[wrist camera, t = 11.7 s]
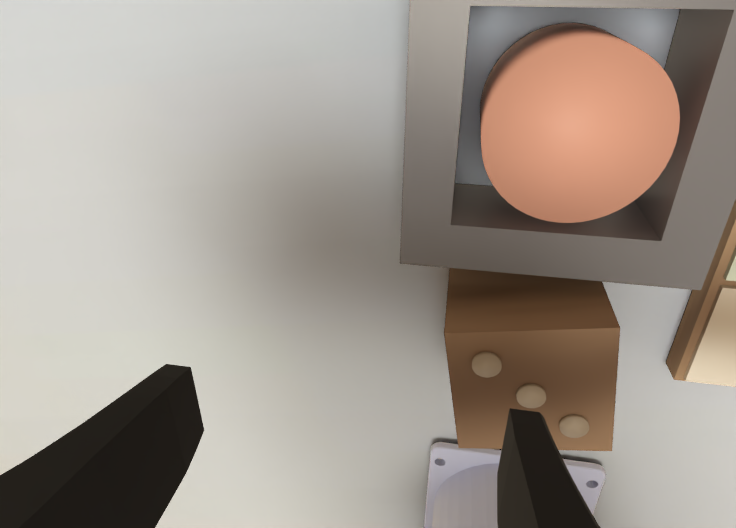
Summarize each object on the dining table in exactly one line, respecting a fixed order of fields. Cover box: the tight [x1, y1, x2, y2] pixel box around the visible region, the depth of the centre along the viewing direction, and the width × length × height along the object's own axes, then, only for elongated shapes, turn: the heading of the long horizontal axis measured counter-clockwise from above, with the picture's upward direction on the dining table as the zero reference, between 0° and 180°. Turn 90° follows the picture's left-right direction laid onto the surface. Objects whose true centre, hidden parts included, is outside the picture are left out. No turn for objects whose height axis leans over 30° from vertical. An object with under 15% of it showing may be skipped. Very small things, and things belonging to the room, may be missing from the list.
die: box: [444, 268, 620, 451], centre depth 19 cm, size 5×5×5 cm
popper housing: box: [400, 0, 736, 290], centre depth 16 cm, size 9×9×4 cm
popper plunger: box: [480, 23, 680, 223], centre depth 15 cm, size 5×5×4 cm
